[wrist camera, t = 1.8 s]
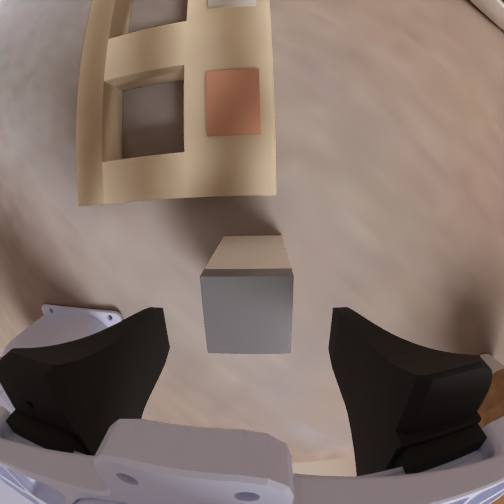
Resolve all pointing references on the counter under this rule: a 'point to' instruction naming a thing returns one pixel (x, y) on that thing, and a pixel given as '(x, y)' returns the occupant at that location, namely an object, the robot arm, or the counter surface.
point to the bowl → (492, 10)
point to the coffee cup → (493, 393)
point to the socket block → (195, 102)
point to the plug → (248, 296)
